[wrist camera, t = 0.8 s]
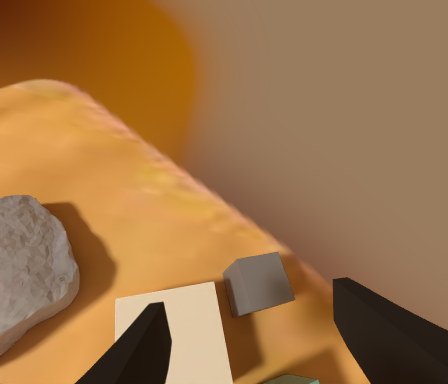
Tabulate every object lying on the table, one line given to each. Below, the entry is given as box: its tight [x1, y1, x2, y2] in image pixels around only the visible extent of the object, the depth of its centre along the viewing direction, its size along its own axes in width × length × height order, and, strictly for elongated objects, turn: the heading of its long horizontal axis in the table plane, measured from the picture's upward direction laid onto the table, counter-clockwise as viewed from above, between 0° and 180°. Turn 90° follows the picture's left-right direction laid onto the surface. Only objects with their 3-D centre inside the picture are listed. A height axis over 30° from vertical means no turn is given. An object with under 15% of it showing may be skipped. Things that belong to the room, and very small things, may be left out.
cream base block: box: [115, 281, 233, 384], centre depth 19 cm, size 8×8×4 cm
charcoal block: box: [223, 252, 295, 318], centre depth 23 cm, size 4×4×5 cm
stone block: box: [0, 195, 80, 357], centre depth 19 cm, size 12×5×10 cm
